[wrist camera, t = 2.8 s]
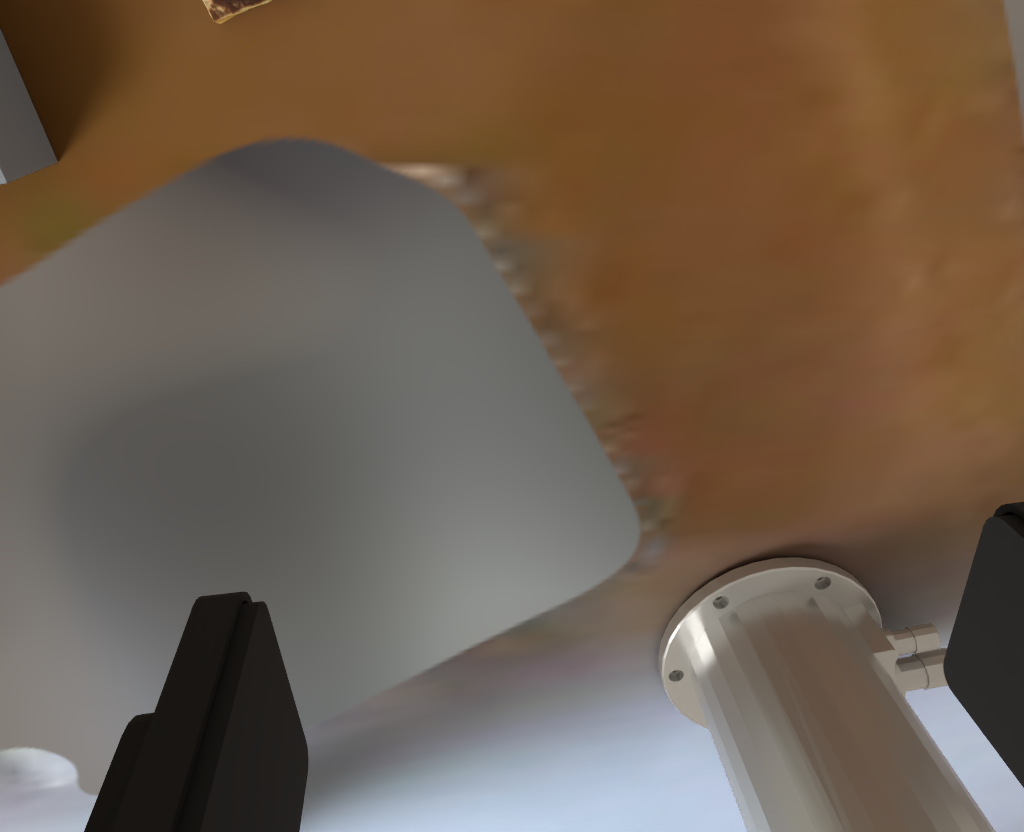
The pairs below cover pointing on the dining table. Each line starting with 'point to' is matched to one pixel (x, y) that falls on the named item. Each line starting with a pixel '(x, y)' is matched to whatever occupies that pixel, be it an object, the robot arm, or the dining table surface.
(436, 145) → the dining table surface
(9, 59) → the rail
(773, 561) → the robot arm
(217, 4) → the shard
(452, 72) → the dining table surface
